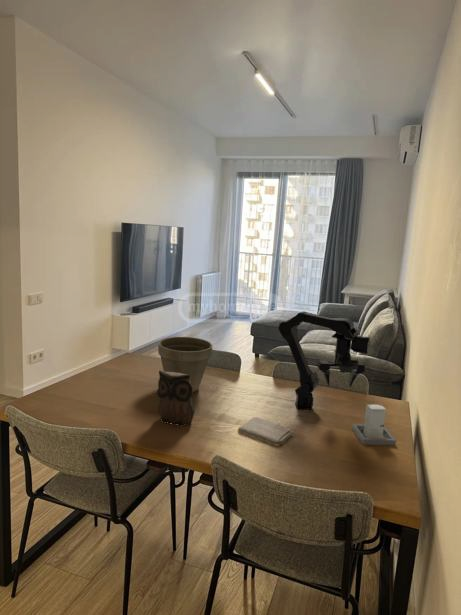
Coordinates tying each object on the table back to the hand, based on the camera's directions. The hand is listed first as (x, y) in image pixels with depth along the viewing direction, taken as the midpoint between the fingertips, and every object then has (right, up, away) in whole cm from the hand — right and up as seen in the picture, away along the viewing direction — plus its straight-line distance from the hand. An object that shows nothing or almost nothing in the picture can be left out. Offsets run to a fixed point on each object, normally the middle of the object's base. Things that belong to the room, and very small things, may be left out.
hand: (339, 386), depth 174 cm
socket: (+9, -16, -15) cm, 24 cm away
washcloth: (-32, -15, -16) cm, 39 cm away
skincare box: (+9, -17, -15) cm, 24 cm away
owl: (-65, -12, -9) cm, 67 cm away
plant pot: (-67, -5, +24) cm, 71 cm away
